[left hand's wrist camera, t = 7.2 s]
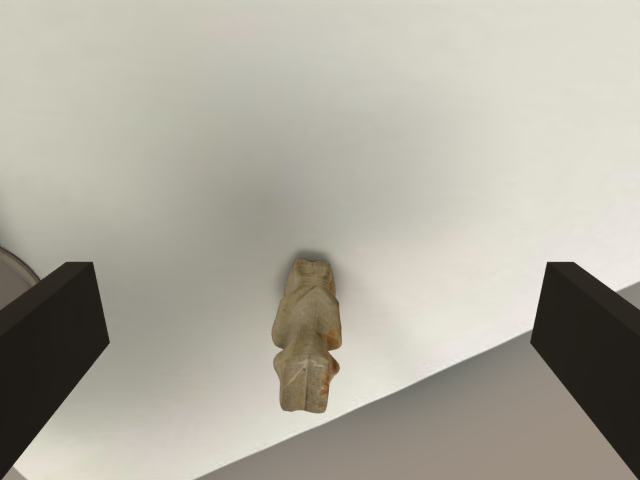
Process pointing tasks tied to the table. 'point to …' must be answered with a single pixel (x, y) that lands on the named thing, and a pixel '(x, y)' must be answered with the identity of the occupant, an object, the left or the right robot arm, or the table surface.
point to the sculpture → (307, 337)
